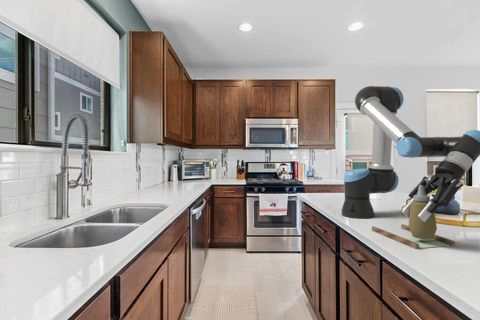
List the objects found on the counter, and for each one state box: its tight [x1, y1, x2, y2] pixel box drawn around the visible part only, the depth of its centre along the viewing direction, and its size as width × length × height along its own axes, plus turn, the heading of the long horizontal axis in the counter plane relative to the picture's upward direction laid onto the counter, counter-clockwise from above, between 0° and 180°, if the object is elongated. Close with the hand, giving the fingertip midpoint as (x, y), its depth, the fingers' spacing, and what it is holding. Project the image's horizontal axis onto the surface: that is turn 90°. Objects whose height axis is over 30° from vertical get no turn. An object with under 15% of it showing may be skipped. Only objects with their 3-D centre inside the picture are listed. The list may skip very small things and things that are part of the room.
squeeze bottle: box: [408, 185, 438, 239], centre depth 89 cm, size 8×8×18 cm
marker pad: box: [404, 236, 451, 249], centre depth 89 cm, size 10×11×1 cm
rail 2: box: [400, 224, 456, 247], centre depth 96 cm, size 22×1×2 cm, turn 8°
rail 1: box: [371, 226, 420, 250], centre depth 94 cm, size 22×1×2 cm, turn 8°
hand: (412, 216), depth 89 cm, fingers closed on squeeze bottle, 6 cm apart
